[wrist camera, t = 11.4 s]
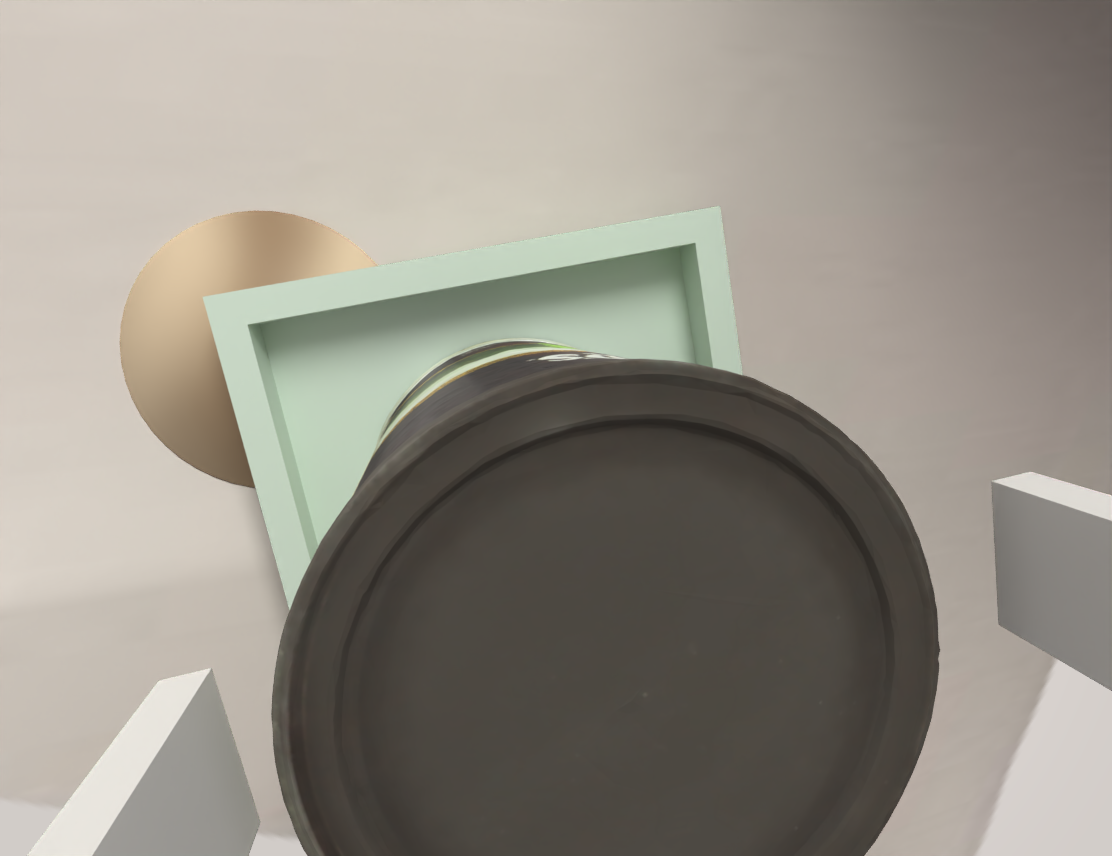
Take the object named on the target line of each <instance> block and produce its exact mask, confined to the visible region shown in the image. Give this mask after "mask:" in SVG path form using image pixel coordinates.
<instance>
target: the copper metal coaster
mask: <svg viewBox="0 0 1112 856" xmlns="http://www.w3.org/2000/svg"><path fill="white" fill-rule="evenodd" d="M375 266H377V264H376V263H375V262H374V261H373V260H372V259H371V258H370V257H369V256H368V255H367V254H366V253H365V252H364V251H363V250H362V249H360V248H359V247H358V246H356V245H355V244H354V243H353V242H351V241H350V240H349V239H347V238H346V237H344V236H342V235H341V234H339V233H337V232H336V231H334V230H332V229H331V228H329V227H326V226H324V225H322V224H319V223H317V222H315V221H313V220H309V219H306V218H303V217H299V216H296V215H292V214H286V213H280V212H273V211H247V212H236V213H231V214H226V215H222V216H217V217H214V218H211V219H209V220H206V221H203V222H201V223H198V224H196V225H194V226H192V227H190V228H188V229H187V230H185V231H183V232H181V233H180V234H178V235H177V236H175V237H174V238H173V239H171V240H170V241H169V242H167V243H166V244H165V245H164V246H163V247H162V248H161V249H160V250H159V251H158V252H157V253H156V254H155V255H154V256H153V257H152V258H151V259H150V260H149V262H148V263H147V264H146V266H145V267H144V268H143V270H142V271H141V272H140V274H139V276H138V277H137V279H136V281H135V283H134V285H133V287H132V289H131V291H130V294H129V296H128V299H127V302H126V305H125V308H124V312H123V317H122V322H121V331H120V353H121V364H122V368H123V372H124V377H125V381H126V384H127V386H128V389H129V392H130V394H131V397H132V400H133V401H134V403H135V405H136V407H137V409H138V411H139V412H140V414H141V416H142V418H143V419H144V420H145V422H146V423H147V424H148V426H149V427H150V429H151V430H152V431H153V433H154V434H155V435H156V436H157V437H158V438H159V439H160V440H161V441H162V442H163V443H164V444H165V445H166V446H167V447H168V448H169V449H170V450H172V451H173V452H174V453H175V454H176V455H178V456H179V457H180V458H181V459H183V460H184V461H186V462H188V463H189V464H191V465H192V466H194V467H195V468H197V469H199V470H201V471H203V472H205V473H207V474H209V475H211V476H213V477H216V478H219V479H222V480H225V481H228V482H231V483H234V484H239V485H244V486H248V487H255V484H254V481H253V477H252V473H251V470H250V466H249V463H248V459H247V455H246V452H245V448H244V445H243V441H242V437H241V434H240V430H239V427H238V423H237V419H236V416H235V412H234V409H233V405H232V401H231V398H230V394H229V391H228V387H227V383H226V380H225V376H224V373H223V369H222V365H221V362H220V358H219V355H218V351H217V347H216V344H215V340H214V337H213V333H212V329H211V326H210V322H209V319H208V315H207V311H206V308H205V304H204V301H203V297H204V296H210V295H215V294H221V293H227V292H232V291H238V290H244V289H249V288H255V287H261V286H266V285H272V284H278V283H284V282H289V281H295V280H301V279H306V278H312V277H318V276H323V275H329V274H335V273H340V272H346V271H352V270H357V269H363V268H369V267H375Z"/></svg>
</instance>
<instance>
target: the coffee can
mask: <svg viewBox="0 0 1112 856" xmlns="http://www.w3.org/2000/svg"><path fill="white" fill-rule="evenodd" d="M939 652H940V648H939V642H938V620H937V608H936V603H935V597H934V591H933V587H932V583H931V579H930V575H929V570H928V566H927V563H926V560H925V557H924V553H923V551H922V548H921V544H920V540H919V538H918V536H917V534H916V532H915V529H914V527H913V524H912V522H911V519H910V517H909V515H908V513H907V511H906V509H905V507H904V505H903V503H902V502H901V500H900V498H899V497H898V495H897V494H896V492H895V491H894V489H893V488H892V486H891V485H890V483H889V482H888V481H887V479H886V478H885V476H884V475H883V473H882V472H881V471H880V470H879V469H878V467H877V466H876V465H875V464H874V463H873V461H872V460H871V459H870V458H869V457H868V456H867V454H866V453H865V452H864V451H863V450H862V449H861V448H860V447H859V446H858V445H856V444H855V443H854V442H853V441H851V440H850V439H849V438H848V437H847V436H846V435H845V434H844V433H843V432H842V431H841V430H840V429H839V428H838V427H836V426H835V425H833V424H832V423H831V422H829V421H828V420H827V419H825V418H824V417H823V416H821V415H820V414H818V413H817V412H816V411H814V410H812V409H811V408H809V407H807V406H806V405H804V404H803V403H801V402H799V401H798V400H796V399H795V398H793V397H791V396H790V395H787V394H785V393H783V392H780V391H778V390H776V389H774V388H772V387H770V386H768V385H766V384H764V383H762V382H760V381H758V380H756V379H754V378H750V377H747V376H743V375H740V374H736V373H733V372H729V371H726V370H721V369H717V368H712V367H707V366H703V365H698V364H694V363H687V362H680V361H671V360H655V359H629V358H623V357H618V356H613V355H607V354H601V353H595V352H590V351H585V350H580V349H577V348H575V347H572V346H569V345H566V344H562V343H559V342H555V341H550V340H543V339H536V338H505V339H499V340H492V341H486V342H483V343H479V344H476V345H473V346H470V347H468V348H465V349H463V350H460V351H458V352H456V353H454V354H452V355H450V356H448V357H446V358H444V359H442V360H441V361H440V362H438V363H437V364H435V365H434V366H432V367H431V368H430V369H429V370H427V371H426V372H425V373H424V374H422V375H421V376H420V377H419V378H418V379H417V380H415V381H414V382H413V384H412V385H411V386H410V387H409V388H408V389H407V390H406V391H405V393H404V394H403V395H402V396H401V398H400V399H399V400H398V402H397V403H396V404H395V406H394V408H393V409H392V411H391V412H390V413H389V415H388V417H387V419H386V421H385V423H384V425H383V427H382V430H381V432H380V435H379V438H378V441H377V444H376V448H375V450H374V452H373V454H372V456H371V458H370V460H369V462H368V464H367V466H366V468H365V470H364V472H363V475H362V477H361V479H360V481H359V483H358V485H357V487H356V489H355V491H354V493H353V495H352V497H351V499H350V500H349V501H348V502H347V504H346V505H345V507H344V508H343V509H342V511H341V512H340V514H339V515H338V516H337V518H336V519H335V521H334V522H333V524H332V525H331V527H330V528H329V530H328V531H327V533H326V534H325V536H324V537H323V539H322V540H321V542H320V544H319V546H318V548H317V550H316V552H315V554H314V556H313V558H312V560H311V562H310V564H309V566H308V568H307V570H306V572H305V574H304V576H303V578H302V580H301V583H300V585H299V588H298V590H297V593H296V595H295V597H294V600H293V603H292V606H291V608H290V611H289V614H288V617H287V620H286V623H285V626H284V630H283V633H282V637H281V641H280V646H279V650H278V656H277V662H276V668H275V675H274V685H273V695H272V726H273V746H274V756H275V763H276V768H277V773H278V778H279V782H280V786H281V791H282V795H283V800H284V803H285V805H286V808H287V810H288V813H289V815H290V818H291V821H292V823H293V826H294V829H295V832H296V834H297V836H298V839H299V841H300V843H301V845H302V847H303V849H304V851H305V852H306V854H307V855H308V856H864V855H865V854H866V853H867V851H868V850H869V849H870V847H871V846H872V845H873V844H874V842H875V841H876V839H877V838H878V836H879V834H880V833H881V831H882V830H883V828H884V827H885V825H886V823H887V822H888V820H889V818H890V817H891V815H892V813H893V811H894V809H895V807H896V806H897V804H898V802H899V800H900V798H901V796H902V794H903V792H904V790H905V788H906V786H907V784H908V782H909V779H910V777H911V775H912V773H913V771H914V768H915V765H916V763H917V760H918V758H919V755H920V753H921V750H922V747H923V744H924V741H925V738H926V734H927V731H928V728H929V725H930V722H931V718H932V712H933V706H934V701H935V696H936V691H937V682H938V673H939V662H938V657H939Z"/></svg>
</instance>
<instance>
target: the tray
mask: <svg viewBox="0 0 1112 856" xmlns="http://www.w3.org/2000/svg"><path fill="white" fill-rule="evenodd" d="M203 301H204V304H205V308H206V311H207V315H208V319H209V322H210V326H211V329H212V333H213V337H214V340H215V344H216V347H217V351H218V355H219V358H220V362H221V365H222V369H223V373H224V376H225V380H226V383H227V387H228V391H229V394H230V398H231V401H232V405H233V409H234V412H235V416H236V419H237V423H238V427H239V430H240V434H241V437H242V441H243V445H244V448H245V452H246V455H247V459H248V463H249V466H250V470H251V473H252V477H253V481H254V484H255V488H256V491H257V495H258V499H259V502H260V506H261V509H262V513H263V517H264V520H265V524H266V527H267V531H268V535H269V538H270V542H271V545H272V549H273V553H274V556H275V560H276V564H277V567H278V571H279V574H280V578H281V582H282V585H283V589H284V592H285V596H286V600H287V603H288V607H289V610H290V608H291V606H292V603H293V600H294V597H295V595H296V593H297V590H298V588H299V585H300V583H301V580H302V578H303V576H304V574H305V572H306V570H307V568H308V566H309V564H310V562H311V560H312V558H313V556H314V554H315V552H316V550H317V548H318V546H319V544H320V542H321V540H322V539H323V537H324V536H325V534H326V533H327V531H328V530H329V528H330V527H331V525H332V524H333V522H334V521H335V519H336V518H337V516H338V515H339V514H340V512H341V511H342V509H343V508H344V507H345V505H346V504H347V502H348V501H349V500H350V499H351V497H352V495H353V493H354V491H355V489H356V487H357V485H358V483H359V481H360V479H361V477H362V475H363V472H364V470H365V468H366V466H367V464H368V462H369V460H370V458H371V456H372V454H373V452H374V450H375V448H376V444H377V441H378V438H379V435H380V432H381V430H382V427H383V425H384V423H385V421H386V419H387V417H388V415H389V413H390V412H391V411H392V409H393V408H394V406H395V404H396V403H397V402H398V400H399V399H400V398H401V396H402V395H403V394H404V393H405V391H406V390H407V389H408V388H409V387H410V386H411V385H412V384H413V382H414V381H415V380H417V379H418V378H419V377H420V376H421V375H422V374H424V373H425V372H426V371H427V370H429V369H430V368H431V367H432V366H434V365H435V364H437V363H438V362H440V361H441V360H442V359H444V358H446V357H448V356H450V355H452V354H454V353H456V352H458V351H460V350H463V349H465V348H468V347H470V346H473V345H476V344H479V343H483V342H486V341H492V340H499V339H505V338H536V339H543V340H550V341H555V342H559V343H562V344H566V345H569V346H572V347H575V348H577V349H580V350H585V351H590V352H595V353H601V354H607V355H613V356H618V357H623V358H629V359H655V360H671V361H680V362H687V363H694V364H698V365H703V366H707V367H712V368H717V369H721V370H726V371H729V372H733V373H736V374H740V375H743V373H742V365H741V358H740V350H739V343H738V335H737V328H736V321H735V313H734V306H733V298H732V291H731V283H730V276H729V269H728V261H727V254H726V246H725V239H724V231H723V224H722V217H721V209H720V206H716V207H710V208H704V209H699V210H693V211H687V212H682V213H676V214H670V215H665V216H659V217H653V218H648V219H642V220H636V221H630V222H625V223H619V224H613V225H608V226H602V227H596V228H591V229H585V230H579V231H574V232H568V233H562V234H557V235H551V236H545V237H539V238H534V239H528V240H522V241H517V242H511V243H505V244H500V245H494V246H488V247H483V248H477V249H471V250H466V251H460V252H454V253H448V254H443V255H437V256H431V257H426V258H420V259H414V260H409V261H403V262H397V263H392V264H386V265H380V266H375V267H369V268H363V269H357V270H352V271H346V272H340V273H335V274H329V275H323V276H318V277H312V278H306V279H301V280H295V281H289V282H284V283H278V284H272V285H266V286H261V287H255V288H249V289H244V290H238V291H232V292H227V293H221V294H215V295H210V296H204V297H203Z"/></svg>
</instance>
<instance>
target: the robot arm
mask: <svg viewBox="0 0 1112 856" xmlns="http://www.w3.org/2000/svg"><path fill="white" fill-rule="evenodd" d="M991 482H992V502H993V523H994V543H995V563H996V583H997V603H998V623H999V625H1000V626H1002V627H1004V628H1005V629H1007V630H1009V631H1011V632H1012V633H1014V634H1016V635H1017V636H1019V637H1021V638H1022V639H1024V640H1026V641H1028V642H1029V643H1031V644H1033V645H1034V646H1036V647H1038V648H1040V649H1041V650H1043V651H1045V652H1046V653H1048V654H1050V655H1051V656H1053V657H1055V658H1057V659H1058V660H1060V661H1062V662H1063V663H1065V664H1067V665H1069V666H1070V667H1072V668H1074V669H1075V670H1077V671H1079V672H1081V673H1082V674H1084V675H1086V676H1087V677H1089V678H1091V679H1093V680H1094V681H1096V682H1098V683H1099V684H1101V685H1103V686H1105V687H1106V688H1108V689H1109V690H1111V691H1112V495H1109V494H1105V493H1102V492H1099V491H1095V490H1092V489H1088V488H1085V487H1082V486H1078V485H1075V484H1071V483H1068V482H1065V481H1061V480H1058V479H1054V478H1051V477H1047V476H1044V475H1041V474H1037V473H1034V472H1027V473H1023V474H1019V475H1014V476H1010V477H1006V478H1002V479H998V480H994V481H991ZM259 825H260V819H259V816H258V813H257V810H256V807H255V803H254V800H253V797H252V794H251V791H250V788H249V785H248V781H247V778H246V775H245V772H244V769H243V766H242V763H241V759H240V756H239V753H238V750H237V747H236V744H235V741H234V737H233V734H232V731H231V728H230V725H229V722H228V719H227V715H226V712H225V709H224V706H223V703H222V700H221V697H220V693H219V690H218V687H217V684H216V681H215V678H214V675H213V671H212V668H210V669H205V670H201V671H197V672H193V673H189V674H185V675H180V676H176V677H172V678H168V679H164V680H160V681H158V682H157V684H156V685H155V686H154V688H153V689H152V690H151V692H150V693H149V694H148V696H147V697H146V698H145V700H144V701H143V702H142V703H141V705H140V706H139V707H138V709H137V710H136V711H135V713H134V714H133V715H132V717H131V718H130V719H129V721H128V722H127V723H126V725H125V726H124V727H123V729H122V730H121V731H120V733H119V734H118V735H117V737H116V738H115V739H114V741H113V742H112V743H111V745H110V746H109V747H108V749H107V750H106V751H105V753H104V754H103V755H102V757H101V758H100V759H99V761H98V762H97V763H96V765H95V766H94V767H93V769H92V770H91V771H90V773H89V774H88V775H87V776H86V778H85V779H84V780H83V782H82V783H81V784H80V786H79V787H78V788H77V790H76V791H75V792H74V794H73V795H72V796H71V798H70V799H69V800H68V802H67V803H66V804H65V806H64V807H63V808H62V810H61V811H60V812H59V814H58V815H57V816H56V818H55V819H54V820H53V822H52V823H51V824H50V826H49V827H48V828H47V830H46V831H45V832H44V834H43V835H42V836H41V838H40V839H39V840H38V842H37V843H36V844H35V846H34V847H33V848H32V850H31V851H30V853H29V854H28V855H27V856H249V853H250V850H251V847H252V844H253V841H254V839H255V836H256V833H257V830H258V827H259Z"/></svg>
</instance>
